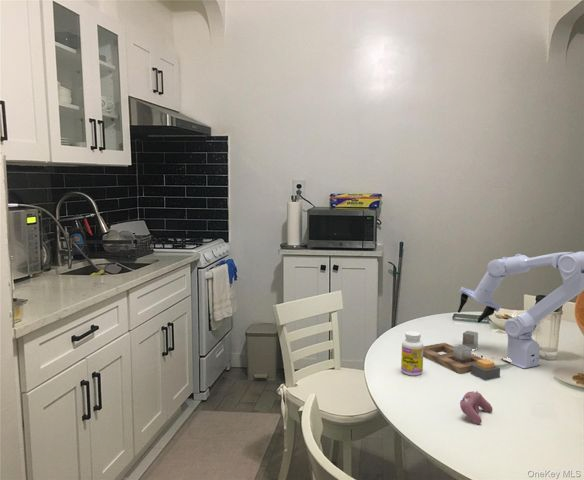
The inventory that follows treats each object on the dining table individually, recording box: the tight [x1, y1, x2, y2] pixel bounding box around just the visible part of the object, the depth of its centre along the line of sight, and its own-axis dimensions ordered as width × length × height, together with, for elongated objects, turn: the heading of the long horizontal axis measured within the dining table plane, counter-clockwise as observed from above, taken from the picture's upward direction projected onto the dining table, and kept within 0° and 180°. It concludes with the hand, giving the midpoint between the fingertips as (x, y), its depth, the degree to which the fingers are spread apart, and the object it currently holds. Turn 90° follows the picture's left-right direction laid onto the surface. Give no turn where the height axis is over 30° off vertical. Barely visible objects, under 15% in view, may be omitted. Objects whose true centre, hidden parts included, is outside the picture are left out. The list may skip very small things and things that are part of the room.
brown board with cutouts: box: [423, 342, 484, 375], centre depth 173 cm, size 22×13×2 cm, turn 25°
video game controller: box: [459, 390, 493, 425], centre depth 132 cm, size 10×5×7 cm, turn 141°
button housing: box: [470, 363, 501, 381], centre depth 159 cm, size 6×6×3 cm
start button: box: [477, 358, 495, 369], centre depth 159 cm, size 4×4×3 cm
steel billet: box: [462, 330, 479, 349], centre depth 184 cm, size 4×4×6 cm
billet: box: [453, 344, 473, 364], centre depth 168 cm, size 4×4×6 cm
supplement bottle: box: [400, 330, 424, 377], centre depth 161 cm, size 7×7×13 cm
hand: (468, 316), depth 185 cm, fingers open, 7 cm apart
